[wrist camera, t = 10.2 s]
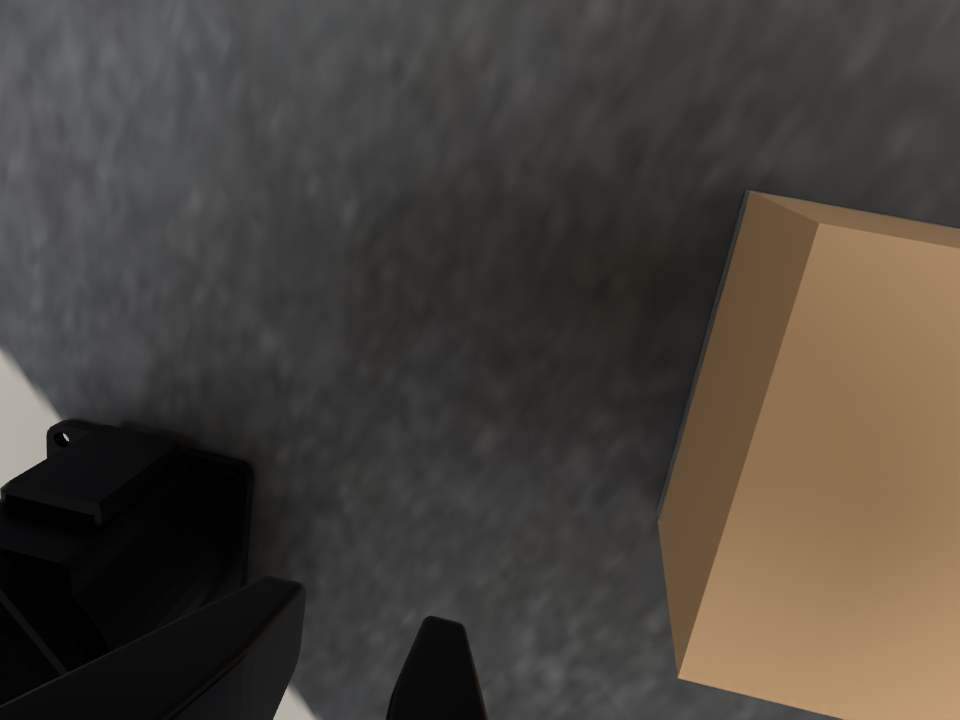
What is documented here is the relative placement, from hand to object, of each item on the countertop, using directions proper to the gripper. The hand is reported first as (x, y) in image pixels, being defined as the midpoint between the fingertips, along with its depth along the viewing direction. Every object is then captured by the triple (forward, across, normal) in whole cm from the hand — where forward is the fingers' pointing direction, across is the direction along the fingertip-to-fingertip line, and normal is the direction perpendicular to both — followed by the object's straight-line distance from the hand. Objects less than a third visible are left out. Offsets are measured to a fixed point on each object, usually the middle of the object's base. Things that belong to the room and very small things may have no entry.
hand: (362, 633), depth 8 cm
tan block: (+12, -8, 0) cm, 15 cm away
